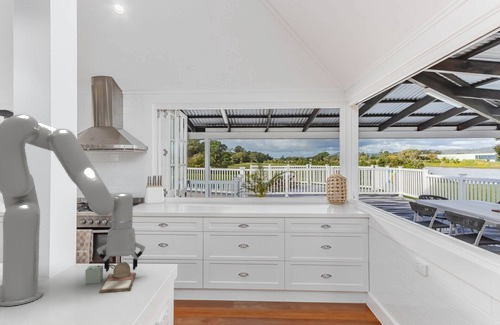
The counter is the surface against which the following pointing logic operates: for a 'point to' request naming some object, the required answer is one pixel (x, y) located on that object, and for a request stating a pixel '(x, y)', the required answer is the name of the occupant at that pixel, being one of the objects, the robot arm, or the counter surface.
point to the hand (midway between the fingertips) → (121, 269)
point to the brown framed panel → (117, 284)
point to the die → (94, 274)
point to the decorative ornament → (121, 270)
